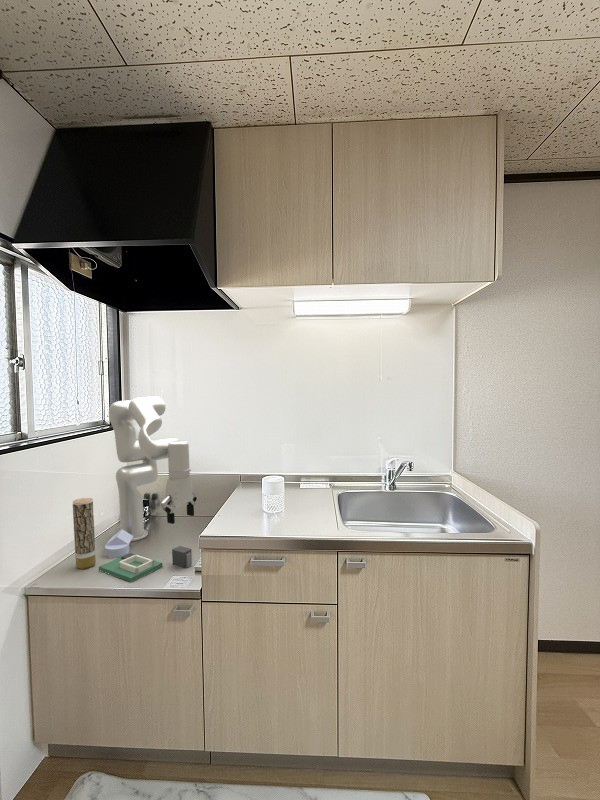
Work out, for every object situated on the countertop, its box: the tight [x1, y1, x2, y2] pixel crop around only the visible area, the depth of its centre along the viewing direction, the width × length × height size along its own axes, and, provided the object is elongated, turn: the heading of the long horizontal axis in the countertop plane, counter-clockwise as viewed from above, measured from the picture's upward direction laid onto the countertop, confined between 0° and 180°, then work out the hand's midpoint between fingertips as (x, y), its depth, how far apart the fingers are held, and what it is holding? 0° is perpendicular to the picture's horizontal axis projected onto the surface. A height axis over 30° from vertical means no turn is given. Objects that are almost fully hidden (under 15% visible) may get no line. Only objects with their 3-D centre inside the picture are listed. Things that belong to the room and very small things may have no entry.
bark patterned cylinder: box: [72, 497, 97, 570], centre depth 170 cm, size 7×7×25 cm
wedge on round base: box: [104, 529, 133, 559], centre depth 184 cm, size 9×7×13 cm
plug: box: [171, 545, 193, 569], centre depth 170 cm, size 7×4×6 cm, turn 58°
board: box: [98, 552, 163, 583], centre depth 168 cm, size 18×14×4 cm
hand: (181, 519), depth 169 cm, fingers open, 9 cm apart
